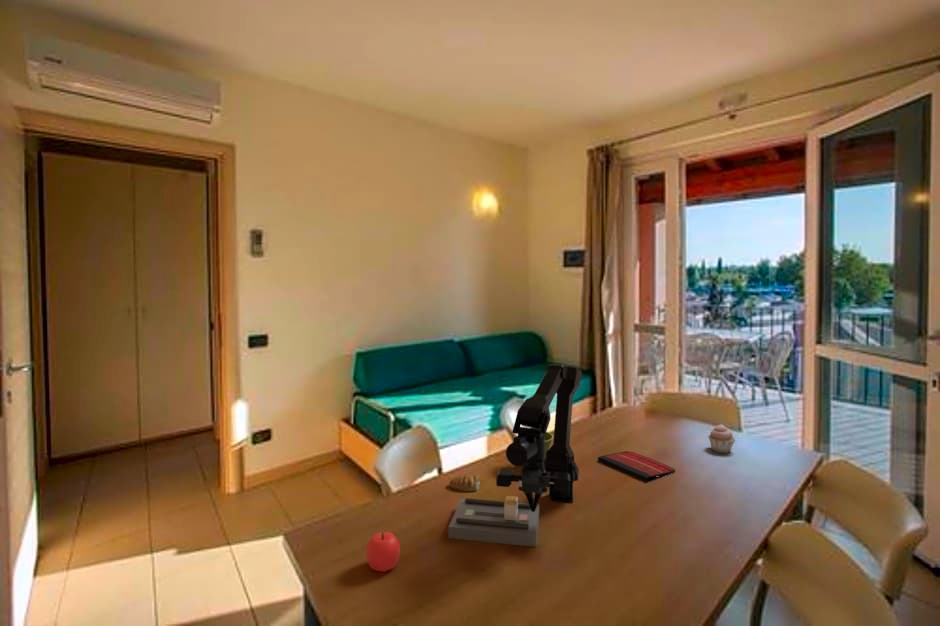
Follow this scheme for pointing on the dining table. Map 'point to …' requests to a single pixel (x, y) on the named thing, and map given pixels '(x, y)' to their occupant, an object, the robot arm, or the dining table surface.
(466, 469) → the dining table surface
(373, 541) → the apple
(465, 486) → the pastry
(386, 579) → the dining table surface
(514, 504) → the switch knob
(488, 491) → the dining table surface
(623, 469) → the binder
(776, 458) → the dining table surface
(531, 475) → the robot arm
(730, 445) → the cupcake
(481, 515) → the slide switch base
